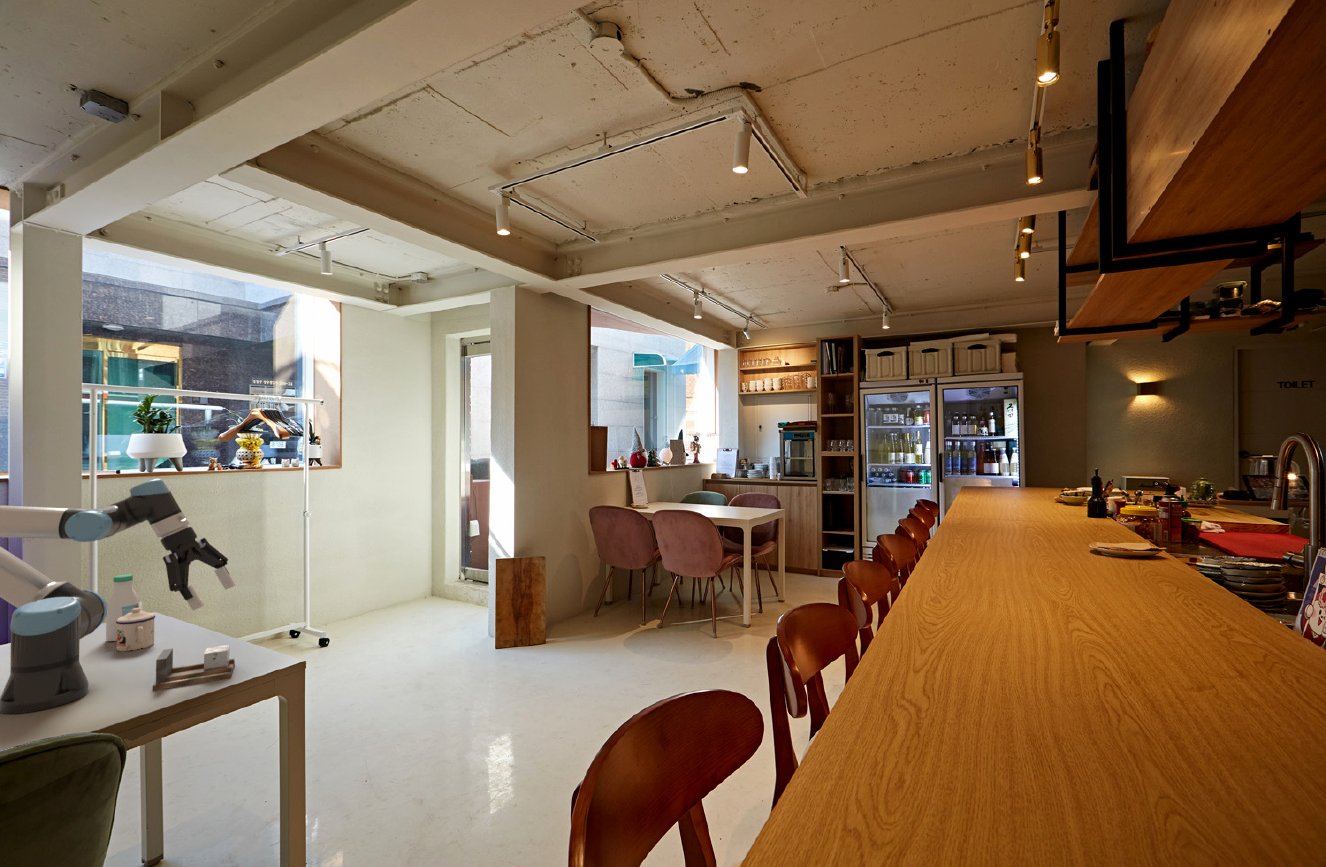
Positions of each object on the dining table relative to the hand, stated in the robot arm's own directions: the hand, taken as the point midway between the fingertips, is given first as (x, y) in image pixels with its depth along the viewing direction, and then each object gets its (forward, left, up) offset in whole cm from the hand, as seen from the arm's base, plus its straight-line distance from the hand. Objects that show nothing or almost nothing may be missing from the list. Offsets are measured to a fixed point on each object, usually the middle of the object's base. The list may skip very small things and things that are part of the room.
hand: (215, 597), depth 171 cm
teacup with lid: (-22, +28, -18) cm, 40 cm away
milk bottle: (-28, +42, -18) cm, 53 cm away
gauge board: (-3, -11, -18) cm, 22 cm away
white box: (+2, -13, -17) cm, 21 cm away
